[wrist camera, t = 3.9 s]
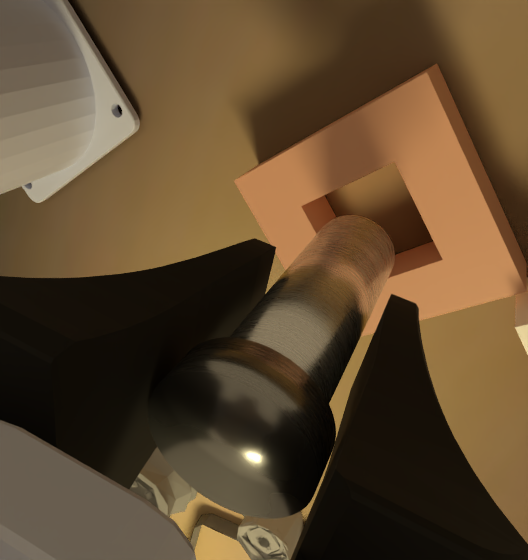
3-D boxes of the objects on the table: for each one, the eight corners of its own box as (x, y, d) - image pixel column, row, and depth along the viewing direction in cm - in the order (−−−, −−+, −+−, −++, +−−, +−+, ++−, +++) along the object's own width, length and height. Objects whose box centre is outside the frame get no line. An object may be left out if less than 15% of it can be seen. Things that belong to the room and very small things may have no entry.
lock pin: (284, 226, 15) (117, 391, 9) (378, 183, 14) (250, 352, 7) (333, 312, 16) (209, 521, 10) (428, 282, 14) (351, 515, 8)
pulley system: (42, 451, 39) (151, 597, 41) (-10, 496, 36) (113, 654, 37) (322, 337, 24) (475, 576, 26) (285, 394, 20) (467, 670, 22)
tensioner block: (258, 164, 19) (233, 180, 17) (437, 63, 15) (426, 72, 13) (344, 317, 21) (328, 345, 19) (526, 262, 17) (526, 291, 15)
